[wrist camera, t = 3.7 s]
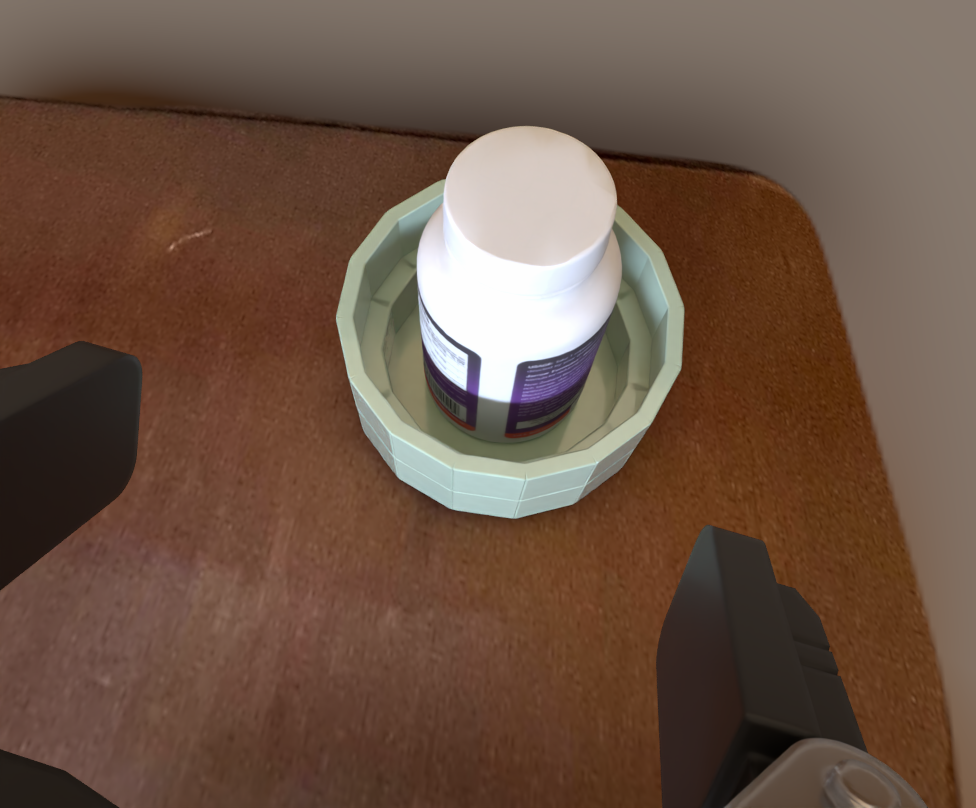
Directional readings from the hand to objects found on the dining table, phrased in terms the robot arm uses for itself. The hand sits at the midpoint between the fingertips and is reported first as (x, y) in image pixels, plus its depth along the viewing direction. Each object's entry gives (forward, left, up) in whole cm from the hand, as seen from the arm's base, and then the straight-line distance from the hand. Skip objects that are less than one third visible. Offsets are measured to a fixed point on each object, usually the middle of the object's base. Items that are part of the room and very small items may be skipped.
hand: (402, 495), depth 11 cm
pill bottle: (-1, -9, -14) cm, 17 cm away
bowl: (-1, -9, -14) cm, 17 cm away
